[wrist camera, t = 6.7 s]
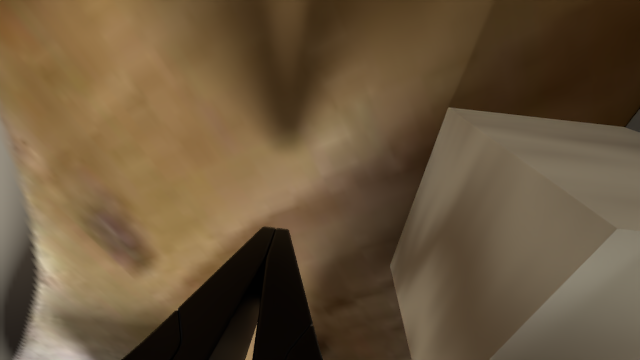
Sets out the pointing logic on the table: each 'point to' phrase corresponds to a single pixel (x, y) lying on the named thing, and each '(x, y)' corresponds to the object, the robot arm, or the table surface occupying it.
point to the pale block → (523, 242)
